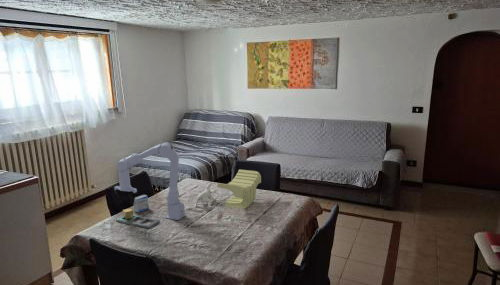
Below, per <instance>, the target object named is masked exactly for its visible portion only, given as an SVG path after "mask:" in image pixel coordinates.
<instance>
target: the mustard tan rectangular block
mask: <svg viewBox="0 0 500 285" xmlns="http://www.w3.org/2000/svg"><path fill="white" fill-rule="evenodd" d="M133 215H134V209H132V208H126V209H122V216H123V217H124V220H128V221H129V220H131V219H132V218H133Z"/></svg>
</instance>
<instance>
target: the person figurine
mask: <svg viewBox="0 0 500 285" xmlns="http://www.w3.org/2000/svg"><path fill="white" fill-rule="evenodd" d="M212 185H216V182H209V183H208V184H207V185H206V187H205V189H204V191H202V192H200V193H199V194H198V195H197V198H196V202H195V204H194V205H193V208H194V209H196V208H197V206H198V203H199V202H201V203H207V206H206V208H207V209H213V208H214V206H213V205H212V204H213V202H215V201H216V200H217V199H218V197H219V195H220V193H218V192H217V189H216V188H213V189H211V186H212ZM210 189H211V190H210ZM215 193H216V196H215V197H213V196H212V194H215Z"/></svg>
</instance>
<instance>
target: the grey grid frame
mask: <svg viewBox="0 0 500 285" xmlns="http://www.w3.org/2000/svg"><path fill="white" fill-rule="evenodd" d="M115 220H116V222H117V223H122V224H126V225H131V226H135V227H139V228H144V229H148V230H149V229H151V228H153V227H154V226H156V225H157V224H159V223H161V221H160V219H156V218H150V217H147V216H141V215H136V214H133V218H132V219H131V220H129V221H128V220H124V217H123V215H122V216H120V217H118V218H116V219H115ZM136 220H141V221H138V222H135V221H136ZM146 222H150V223H149V224H145V223H146Z"/></svg>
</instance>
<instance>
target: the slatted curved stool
mask: <svg viewBox="0 0 500 285" xmlns="http://www.w3.org/2000/svg"><path fill="white" fill-rule="evenodd" d="M261 183H262V176H261V174H260V172H259V171H256V170H249V169H248V170H247V169H238V171H237V173H236V174H235V176H234V178H233V179H232V180H231V181H229V182H228V183H221V182H220V183H219V182H217V184H216V185H217V188H218V189H222V190H223V189H224V190H228V191H230V192H231V193H233V194H234V196H232V197H231V198H230V199H229V200H227V201H226V202H225V207H231V208H238V209H241V210H242V209H247V208H248V207H249V206H250V205H251V204H252V203H254V201H256V199H257V198H256V197H257V196H256V195H257V187H258V185H259V184H261Z"/></svg>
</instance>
